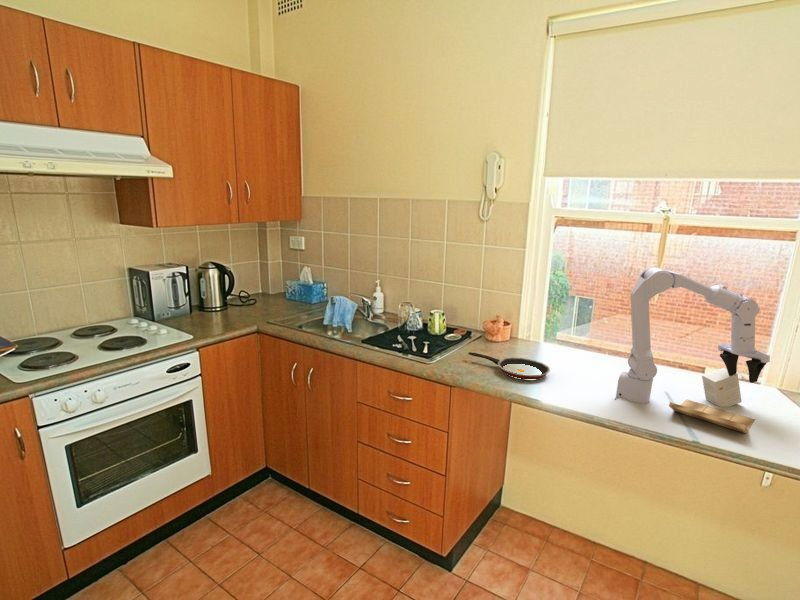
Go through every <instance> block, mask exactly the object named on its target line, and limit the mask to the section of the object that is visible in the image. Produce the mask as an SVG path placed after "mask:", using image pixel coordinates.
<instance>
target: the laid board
mask: <svg viewBox="0 0 800 600" xmlns="http://www.w3.org/2000/svg"><path fill="white" fill-rule="evenodd" d="M680 405H681V406H684V407H688V408H691V409H694V410H697V411H701V412H704V413H707V414H711V415H714V416H717V417H720V418H724V419H727V420H730V421H734V422H737V423H740V424H743V425H745V426H746V428H747V430H748V431H749V430H750V429H751V426H752V425H754V424H753V423H754V422H755V420H756V419H754V418H752V417H748V416H744V415H741V414H737V413H734V412H730V411H728V410H724V409H721V408H718V407H716V406H715V407H714V406H712V405H708V404H704V403H701V402H698V401H694V400H690V399H687V398H686V399H685V400H684V401H682V403H681V404H680Z"/></svg>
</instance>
